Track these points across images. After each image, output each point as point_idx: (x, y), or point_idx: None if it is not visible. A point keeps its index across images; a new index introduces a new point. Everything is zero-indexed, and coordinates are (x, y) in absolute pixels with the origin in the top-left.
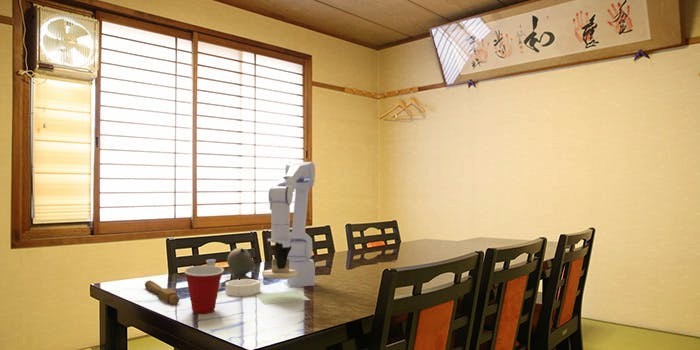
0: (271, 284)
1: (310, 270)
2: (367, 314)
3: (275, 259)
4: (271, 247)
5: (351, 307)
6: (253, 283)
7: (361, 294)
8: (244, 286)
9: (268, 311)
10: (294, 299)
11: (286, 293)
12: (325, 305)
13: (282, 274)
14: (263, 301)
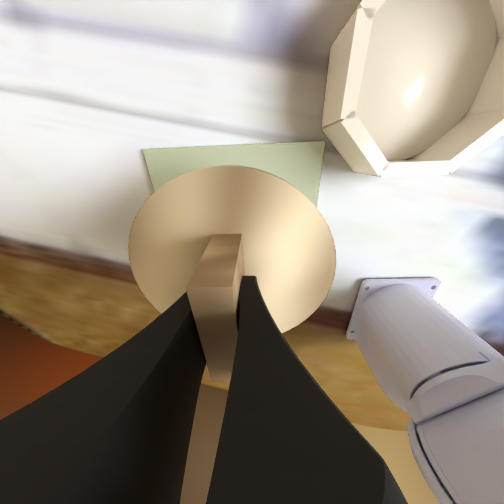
0: (467, 241)
1: (379, 370)
2: (58, 343)
3: (203, 308)
4: (237, 476)
5: (113, 338)
6: (445, 150)
7: None
8: (347, 62)
9: (60, 148)
10: None
11: None
12: (133, 305)
13: (149, 270)
14: (186, 154)
